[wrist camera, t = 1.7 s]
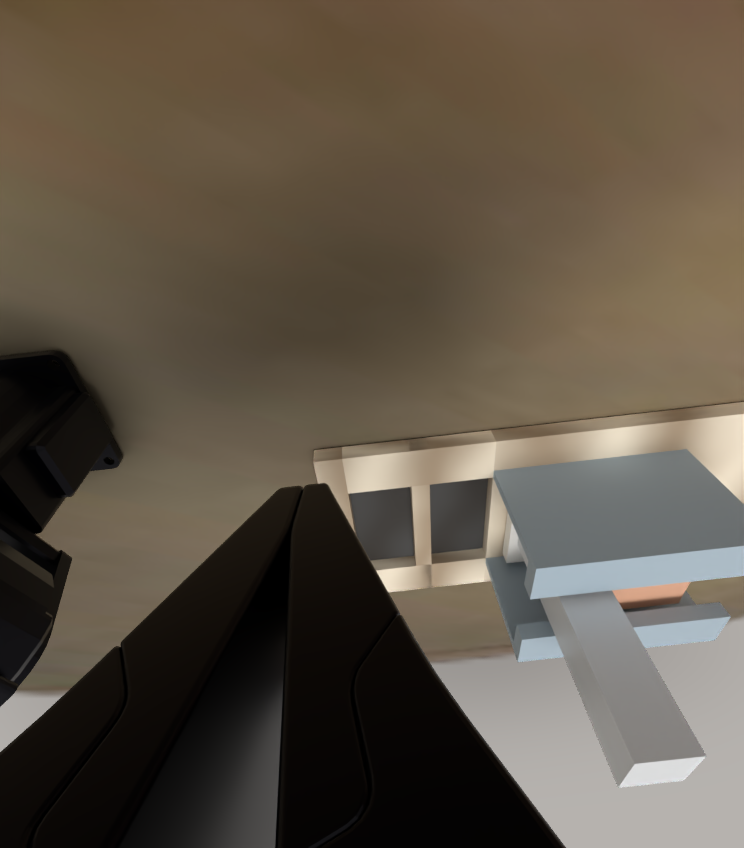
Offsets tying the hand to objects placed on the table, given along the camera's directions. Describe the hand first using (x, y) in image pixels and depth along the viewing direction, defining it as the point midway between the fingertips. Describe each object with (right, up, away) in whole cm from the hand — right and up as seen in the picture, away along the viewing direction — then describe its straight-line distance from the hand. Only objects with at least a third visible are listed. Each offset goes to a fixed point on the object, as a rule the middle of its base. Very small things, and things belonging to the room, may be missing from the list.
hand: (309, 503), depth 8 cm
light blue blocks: (+13, -3, +19) cm, 24 cm away
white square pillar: (+14, -4, +18) cm, 23 cm away
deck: (+12, -3, +19) cm, 23 cm away
